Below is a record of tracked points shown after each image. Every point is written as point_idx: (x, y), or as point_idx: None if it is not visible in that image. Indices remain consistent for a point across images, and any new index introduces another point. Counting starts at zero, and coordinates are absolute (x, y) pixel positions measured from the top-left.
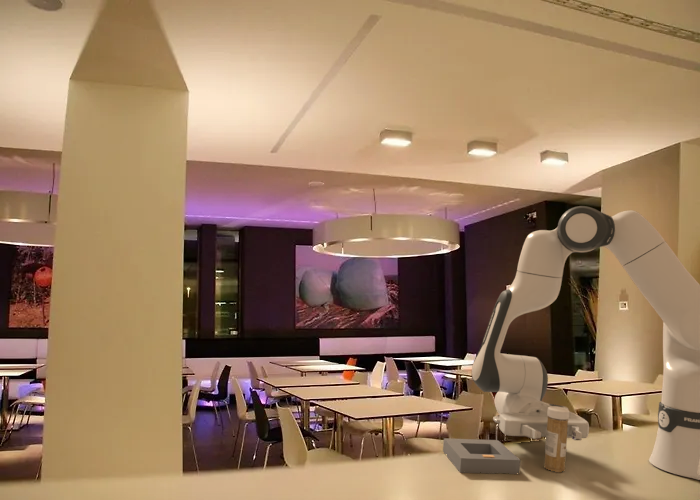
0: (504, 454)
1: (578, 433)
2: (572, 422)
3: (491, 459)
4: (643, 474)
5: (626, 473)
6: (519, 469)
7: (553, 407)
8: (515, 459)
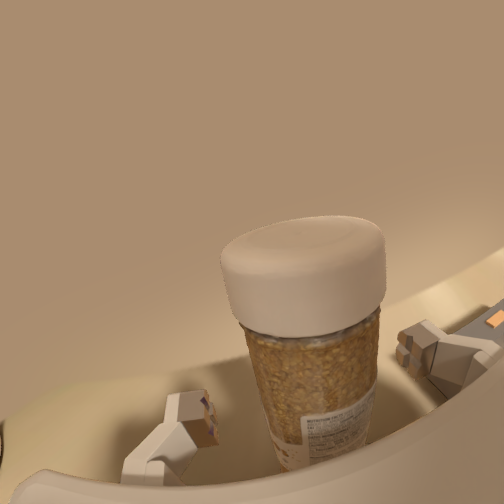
0: None
1: (188, 392)
2: (129, 489)
3: (484, 314)
4: (49, 458)
5: (81, 469)
6: None
7: (339, 231)
8: None
